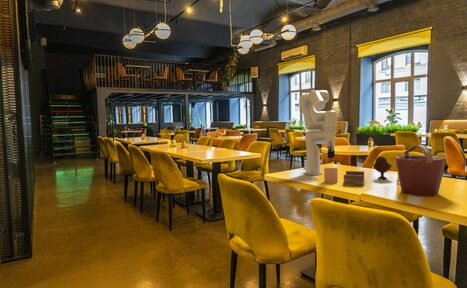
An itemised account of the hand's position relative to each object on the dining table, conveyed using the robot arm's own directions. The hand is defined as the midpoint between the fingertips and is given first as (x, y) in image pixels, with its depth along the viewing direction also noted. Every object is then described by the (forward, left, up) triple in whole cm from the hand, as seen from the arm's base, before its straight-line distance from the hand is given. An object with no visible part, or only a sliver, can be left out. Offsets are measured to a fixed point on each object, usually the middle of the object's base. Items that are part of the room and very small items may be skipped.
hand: (331, 157), depth 204 cm
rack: (+12, +7, -16) cm, 21 cm away
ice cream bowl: (+17, +31, -16) cm, 39 cm away
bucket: (+51, +6, -16) cm, 53 cm away
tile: (0, 0, -16) cm, 16 cm away
